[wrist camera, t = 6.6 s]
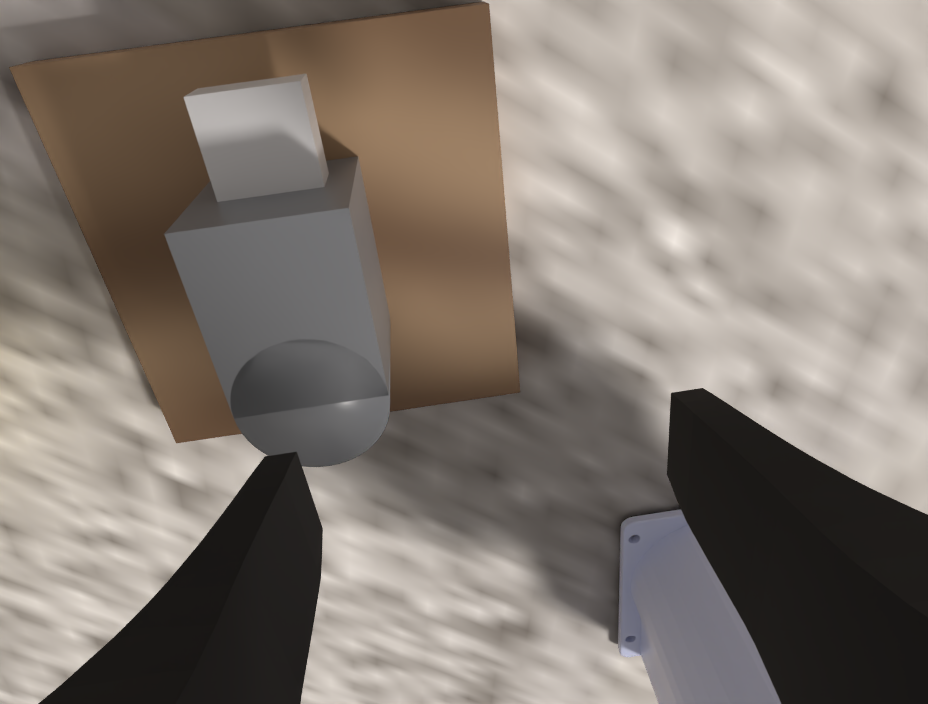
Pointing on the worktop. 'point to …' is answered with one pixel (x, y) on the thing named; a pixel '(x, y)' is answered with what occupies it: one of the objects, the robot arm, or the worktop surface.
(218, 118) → the plug
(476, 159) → the board
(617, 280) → the worktop surface
